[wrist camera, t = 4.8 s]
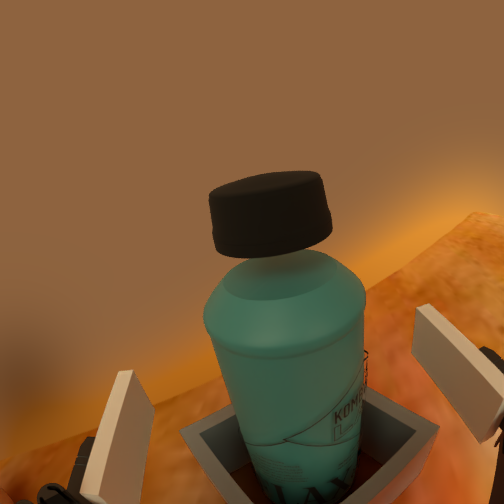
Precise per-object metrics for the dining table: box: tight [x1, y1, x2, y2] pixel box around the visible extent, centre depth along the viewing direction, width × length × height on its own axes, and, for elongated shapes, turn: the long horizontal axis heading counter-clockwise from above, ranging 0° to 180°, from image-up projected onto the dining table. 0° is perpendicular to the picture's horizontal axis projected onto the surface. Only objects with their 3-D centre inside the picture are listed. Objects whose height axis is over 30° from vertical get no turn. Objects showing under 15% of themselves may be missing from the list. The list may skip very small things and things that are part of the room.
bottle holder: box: [179, 385, 440, 504], centre depth 16 cm, size 11×11×6 cm
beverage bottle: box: [203, 171, 368, 504], centre depth 14 cm, size 6×7×20 cm
